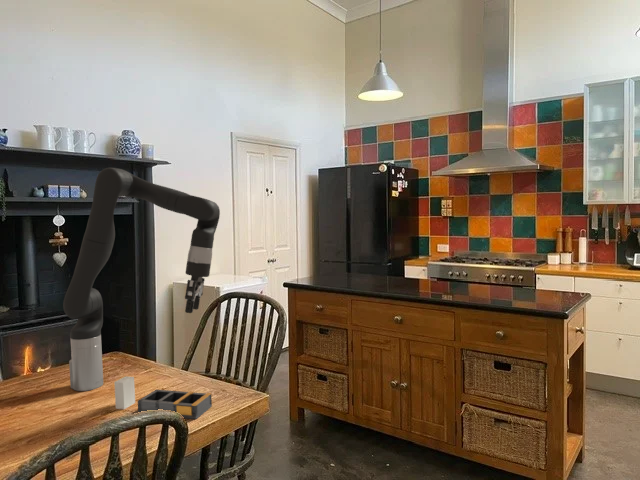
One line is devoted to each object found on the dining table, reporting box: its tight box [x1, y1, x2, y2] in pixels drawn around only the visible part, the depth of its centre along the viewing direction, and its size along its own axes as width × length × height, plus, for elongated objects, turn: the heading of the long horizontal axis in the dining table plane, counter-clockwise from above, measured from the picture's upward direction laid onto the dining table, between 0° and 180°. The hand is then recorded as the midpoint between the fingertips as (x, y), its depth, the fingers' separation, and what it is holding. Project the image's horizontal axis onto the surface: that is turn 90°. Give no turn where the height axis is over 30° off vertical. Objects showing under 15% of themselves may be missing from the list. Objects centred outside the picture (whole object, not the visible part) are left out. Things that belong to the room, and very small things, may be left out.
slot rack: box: [137, 389, 213, 420], centre depth 136 cm, size 19×9×4 cm, turn 75°
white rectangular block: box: [113, 376, 136, 410], centre depth 141 cm, size 3×5×8 cm, turn 165°
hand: (191, 310), depth 151 cm, fingers open, 8 cm apart
